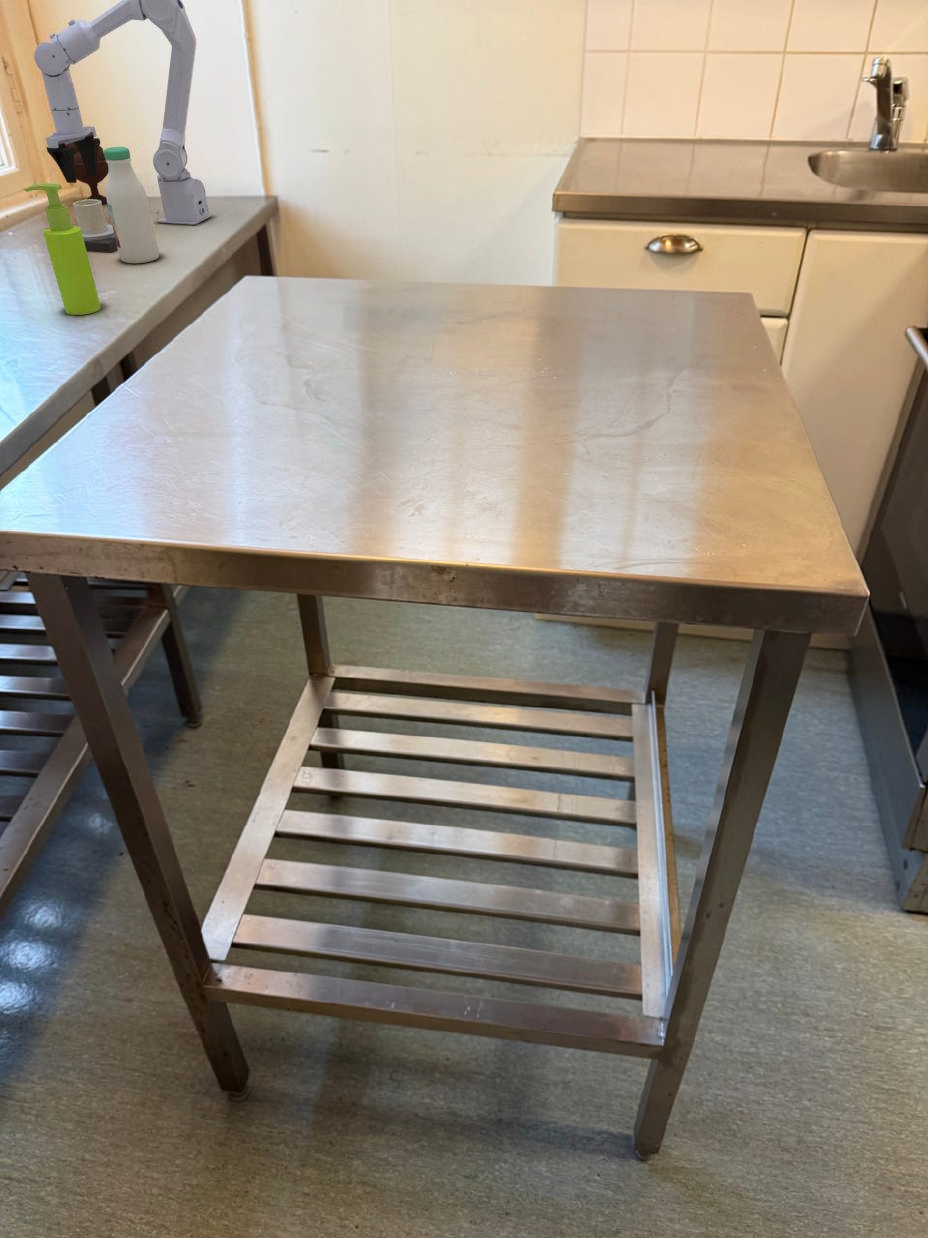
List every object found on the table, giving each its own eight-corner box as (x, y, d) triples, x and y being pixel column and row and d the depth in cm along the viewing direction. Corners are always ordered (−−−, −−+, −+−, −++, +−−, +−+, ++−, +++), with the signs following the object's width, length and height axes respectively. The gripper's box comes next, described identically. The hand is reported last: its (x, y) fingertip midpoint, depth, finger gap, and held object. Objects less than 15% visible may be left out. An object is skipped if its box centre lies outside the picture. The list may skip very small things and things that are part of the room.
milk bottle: (167, 254, 182) (145, 145, 170) (145, 265, 176) (120, 153, 164) (135, 251, 184) (111, 143, 172) (112, 262, 178) (85, 150, 166)
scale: (140, 238, 192) (137, 225, 191) (110, 252, 184) (107, 239, 182) (88, 234, 195) (85, 222, 194) (56, 248, 187) (53, 235, 185)
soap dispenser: (67, 303, 158) (33, 180, 146) (105, 303, 158) (74, 180, 146) (54, 314, 154) (17, 188, 141) (93, 314, 153) (60, 188, 141)
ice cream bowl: (106, 207, 215) (90, 137, 206) (64, 205, 217) (46, 136, 208) (128, 197, 223) (113, 129, 214) (88, 196, 225) (71, 128, 216)
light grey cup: (113, 227, 190) (106, 199, 186) (97, 234, 185) (90, 206, 182) (90, 226, 191) (83, 198, 188) (74, 232, 187) (67, 204, 183)
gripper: (69, 102, 195) (86, 171, 204) (26, 113, 184) (46, 184, 193) (97, 103, 194) (113, 172, 202) (55, 114, 183) (74, 186, 191)
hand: (82, 178), depth 197 cm, fingers open, 7 cm apart
